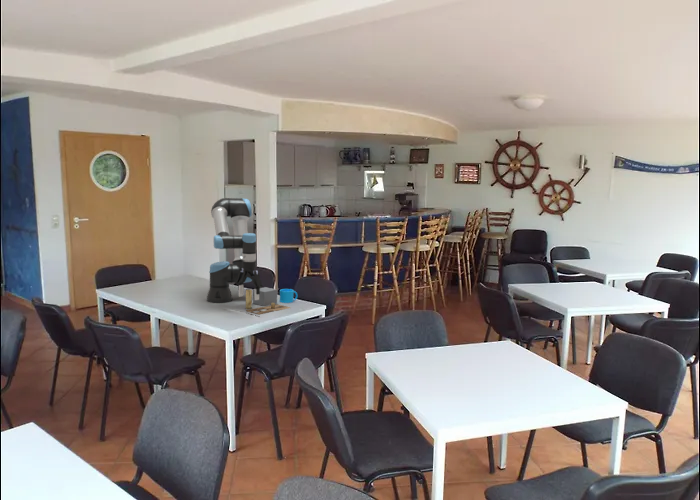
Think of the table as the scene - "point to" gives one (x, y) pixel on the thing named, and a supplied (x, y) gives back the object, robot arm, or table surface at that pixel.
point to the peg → (248, 299)
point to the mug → (287, 295)
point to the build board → (259, 310)
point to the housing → (265, 296)
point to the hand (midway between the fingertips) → (248, 298)
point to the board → (276, 307)
